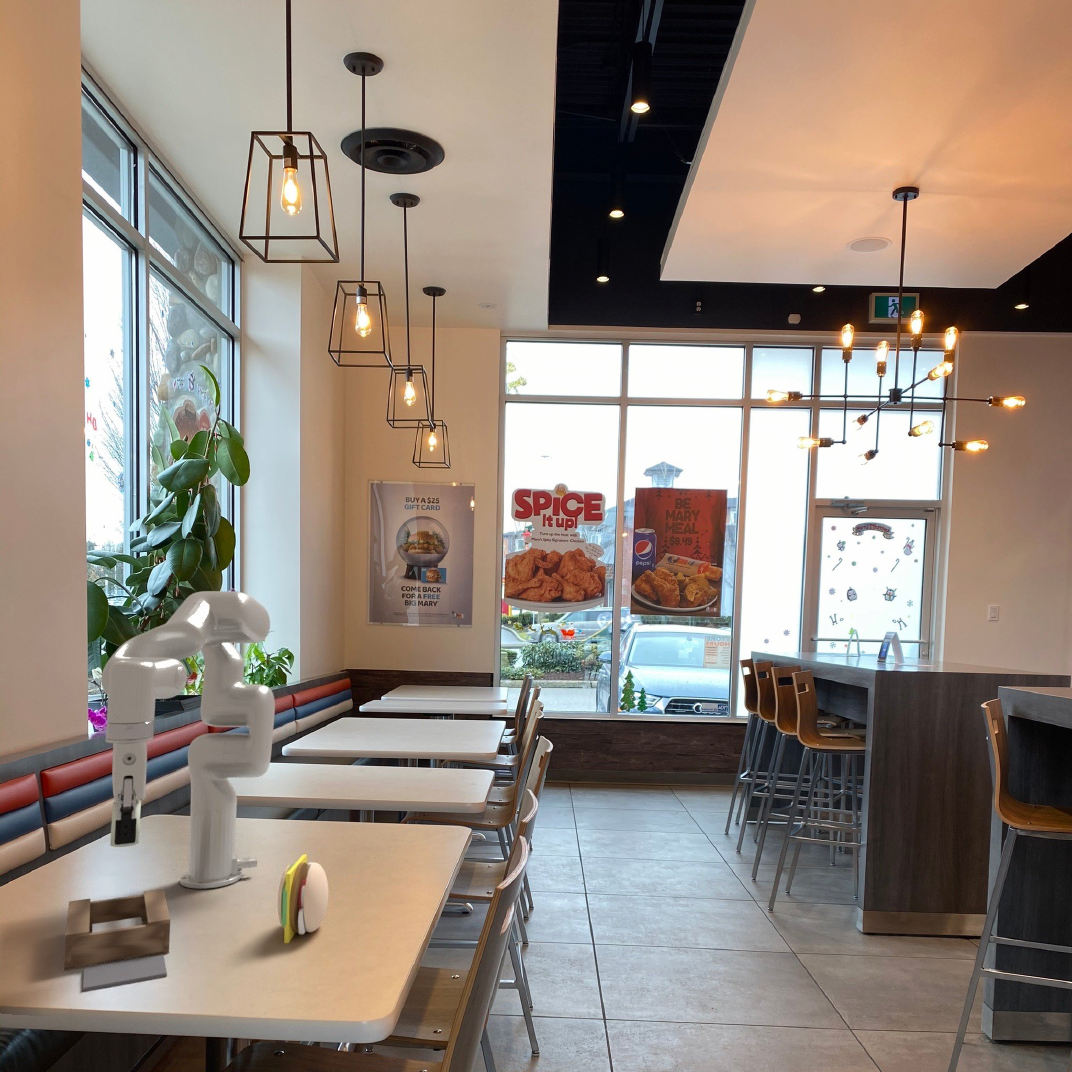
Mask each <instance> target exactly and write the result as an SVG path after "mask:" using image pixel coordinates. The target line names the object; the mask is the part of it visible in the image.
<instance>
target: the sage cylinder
mask: <svg viewBox="0 0 1072 1072" xmlns="http://www.w3.org/2000/svg"><path fill="white" fill-rule="evenodd" d="M132 800H134V799H132ZM121 801H124V800H121ZM131 805H132V804H131ZM122 806H123V805H121V807H122ZM141 806H142V800H141V799H138V798H136V811H135V818H137V821H136V841H135V842H134V843H129V844H120V845H116V844H115V824H116V820H117V817H118V802H115V801H113V802H112V812H111V813H112V814H111V829H110V842H109V843H110V844H109V846H111V847H115V848H125V847H131V846H136V845H137V844H139V842H140V841H139V840H140V824H141V823H140V822H141V811H142V809H141Z"/></svg>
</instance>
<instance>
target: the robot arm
mask: <svg viewBox="0 0 1072 1072" xmlns="http://www.w3.org/2000/svg"><path fill="white" fill-rule="evenodd" d="M270 628H271V618H270V615H269V613H268V611H267V609H266V608H265V606H263V605H262V603H260V602H259V601H257V600H256V599H255V598H253V597H252V596H251V595H248V594H247V593H245V592H241V591H236V590H233V591H231V590H229V591H222V590H221V591H220V590H218V591H213V590H212V591H209V590H208V591H207V590H205V591H198V592H193V593H192V594H190V595H188V597H187V598H186V599H185V600H184V601H183V602H182V603H181V605H179V607H178V608H177V609H176V611H175V612H174V613H173V614H172V615H171V617H170V618H169V619H168V620H167V621H166V623H164V624H161V625H160V626H156V627H154V628H151V629H150V630H147V631H145V632H142V633H140V634H138V635H136V636H134V637H132V638H130V639H128V640H127V641H125V642H124V643H122V644H121V645H120V646H119V647H118V648H117V649H116V651H114V653H113V654H112V655H111V657H109V659H108V660H107V662H106V664H105V666H104V667H103V670H102V674H101V677H100V679H101V683H100V684H101V688H102V690H103V691H104V693H105V694H106V695H107V714H106V716H107V717H106V729H105V742H106V743H109V744H113V745H112V746H113V747H112V766H111V767H112V768H111V769H112V771H111V772H112V775H111V777H112V778H111V779H112V793H113V794H112V795H113V800H114V801H113V802H118V817H117V820H116V824H115V844H116V845H120V844H129V843H134V842H135V841H136V821H137V818H135V811H136V799H140V800H141V801H144V800H145V799H146V789H147V788H146V785H147V767H148V766H147V764H148V743H147V742H150V741H154V736H155V735H154V732H155V711H156V710H155V709H156V700H157V699H158V700H166V699H171V698H174V697H176V696H178V695H179V694H180V693H182V691H183V690H184V689H185V687H186V684H187V681H188V672H187V671H188V670H187V669H186V666H185V665H184V664H183V663H182V661H181V660H184V659H187V658H190V657H193V656H195V655H197V654H198V653H199V652H200V651H201V654H202V657H203V662H204V671H203V672H204V674H203V681H202V688H201V689H202V691H201V700H200V719H201V721H202V723H203V724H205V725H206V726H210V727H214V728H217V727H218V728H248V732H249V733H247V732H246V733H242V732H241V733H235V732H234V733H233V732H213V733H212V732H211V733H204V734H201V735H199V736H197V737H195V738H194V739H193V740H192V741H191V742H190V745H189V747H188V750H187V763H188V770H189V777H190V820H189V821H190V823H189V842H188V843H189V844H188V845H189V849H188V870H187V872H184V873H183V874H181V876H180V878H179V882H180V885H182V886H183V887H186V888H189V889H203V890H204V889H214V888H221V887H225V886H228V885H231V884H234V883H236V882H238V881H239V880H240V879H241V878H242V876H243V875H242V874H243V873H242V872H243V871H242V870H243V869H246V868H247V869H250V868H257V867H258V859H257V857H252V858H250V857H249V856H246V857H240V858H239V857H238V856H237V854H236V834H237V833H236V830H237V807H238V803H237V801H238V799H237V794H236V791H235V788H234V786H233V784H232V783H231V782H230V780H229V779H230V778H237V779H238V778H242V779H243V778H246V779H247V778H259V777H262V776H264V775H265V774H266V773H267V772H268V770H269V768H270V763H271V757H272V748H273V747H272V746H273V736H274V726H275V713H276V712H275V711H276V709H275V708H276V703H275V702H276V701H275V697H274V693H273V691H272V689H271V688H270V687H268V686H267V685H264V684H260V683H259V684H257V683H255V684H254V683H251V684H250V683H246V684H245V683H244V673H245V662H244V659H243V657H242V654H241V653H240V651H239V650H238V649H237V647H236V646H235V645H234V644H258V643H261V642H263V641H264V640H265V639H266V638H267V637H268V635H269V633H270ZM132 799H134V800H132ZM121 800H124V801H121ZM131 804H132V805H131ZM121 805H123V806H122V807H121Z"/></svg>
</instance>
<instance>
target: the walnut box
mask: <svg viewBox="0 0 1072 1072" xmlns="http://www.w3.org/2000/svg"><path fill="white" fill-rule="evenodd" d="M65 925H66V926H65V934H64V937H65V938H64V954H63V955H64V956H63V971H69V970H73V969H80V968H88V967H94V966H100V965H106V964H112V963H118V962H123V961H129V960H135V959H141V958H147V957H153V956H159V955H164V954H170V936H171V935H170V934H171V915H170V911H169V907H168V903H167V899H166V894H165V890H164V888H157V889H149V890H143V894H137V895H129V896H123V897H115V898H108V899H107V898H106V899H100V900H93V901H91V898H85V899H77V900H69V901H68V905H67V916H66V924H65Z"/></svg>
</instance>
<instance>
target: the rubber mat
mask: <svg viewBox="0 0 1072 1072" xmlns="http://www.w3.org/2000/svg"><path fill="white" fill-rule="evenodd" d="M166 966H167V965H166V960H165V955H164V954H159V955H154V956H148V957H142V958H136V959H130V960H124V961H118V962H112V963H106V964H100V965H94V966H89V967H83V968H84V969H83V982H82V984H83V985H82V986H83V987H82V991H83V992H87V991H91V990H97V989H103V988H110V987H115V986H120V985H125V984H131V983H137V982H142V981H148V980H149V981H150V980H154V979H159V978H163V977H167V976H168V972H167V967H166Z"/></svg>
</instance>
